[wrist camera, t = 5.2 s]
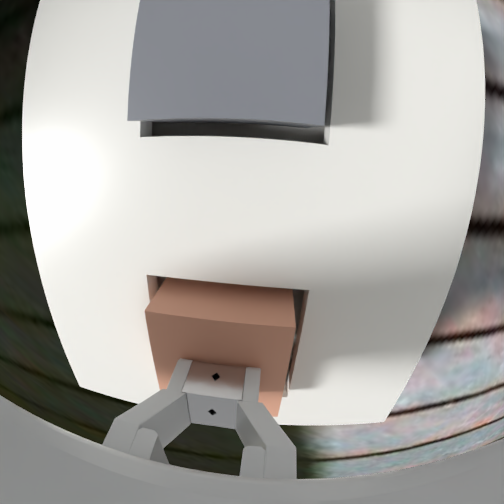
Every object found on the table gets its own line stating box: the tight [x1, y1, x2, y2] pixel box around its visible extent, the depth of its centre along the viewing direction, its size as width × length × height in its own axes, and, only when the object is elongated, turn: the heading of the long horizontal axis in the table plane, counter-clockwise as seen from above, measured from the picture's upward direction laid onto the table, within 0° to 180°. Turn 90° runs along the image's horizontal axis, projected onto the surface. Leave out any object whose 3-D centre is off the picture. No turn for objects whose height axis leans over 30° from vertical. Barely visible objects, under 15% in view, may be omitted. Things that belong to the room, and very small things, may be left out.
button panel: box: [22, 0, 485, 425], centre depth 12 cm, size 18×22×5 cm
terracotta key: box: [145, 277, 296, 417], centre depth 12 cm, size 5×5×4 cm
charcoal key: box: [127, 0, 330, 128], centre depth 7 cm, size 5×5×4 cm
